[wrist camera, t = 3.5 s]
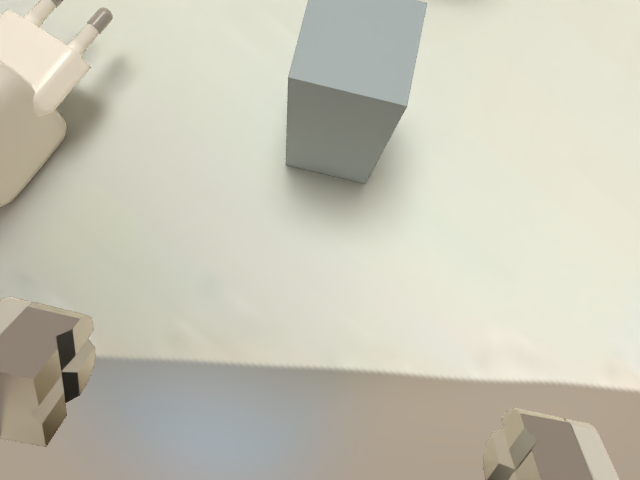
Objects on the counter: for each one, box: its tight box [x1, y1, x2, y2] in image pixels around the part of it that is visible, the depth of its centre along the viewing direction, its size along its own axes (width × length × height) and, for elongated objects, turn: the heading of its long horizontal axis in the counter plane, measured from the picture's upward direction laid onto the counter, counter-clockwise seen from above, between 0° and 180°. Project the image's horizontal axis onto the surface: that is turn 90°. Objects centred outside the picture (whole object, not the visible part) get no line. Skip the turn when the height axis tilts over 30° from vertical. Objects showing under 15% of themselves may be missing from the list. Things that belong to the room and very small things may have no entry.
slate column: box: [286, 0, 427, 184], centre depth 22 cm, size 4×4×9 cm
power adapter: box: [0, 0, 113, 207], centre depth 23 cm, size 11×5×6 cm, turn 148°
